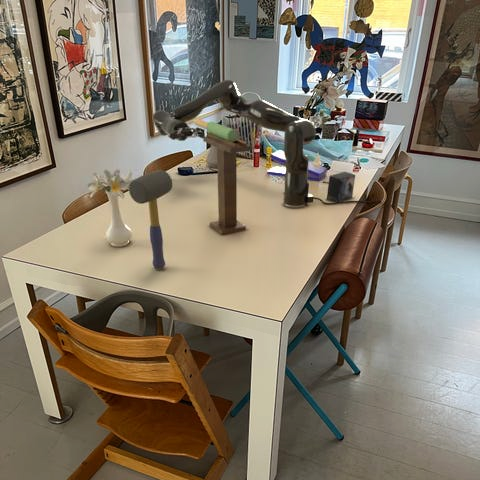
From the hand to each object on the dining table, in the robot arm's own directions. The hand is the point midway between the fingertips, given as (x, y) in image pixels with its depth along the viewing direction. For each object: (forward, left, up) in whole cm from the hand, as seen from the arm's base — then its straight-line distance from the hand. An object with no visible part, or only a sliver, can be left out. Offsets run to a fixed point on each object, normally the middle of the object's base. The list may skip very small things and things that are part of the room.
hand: (193, 136), depth 189 cm
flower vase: (+37, +31, -27) cm, 55 cm away
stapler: (-58, -24, -27) cm, 68 cm away
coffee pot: (-29, -50, -27) cm, 64 cm away
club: (-2, +21, +7) cm, 22 cm away
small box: (-60, +16, -27) cm, 68 cm away
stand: (-3, +31, -27) cm, 41 cm away
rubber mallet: (+28, +56, -27) cm, 68 cm away
